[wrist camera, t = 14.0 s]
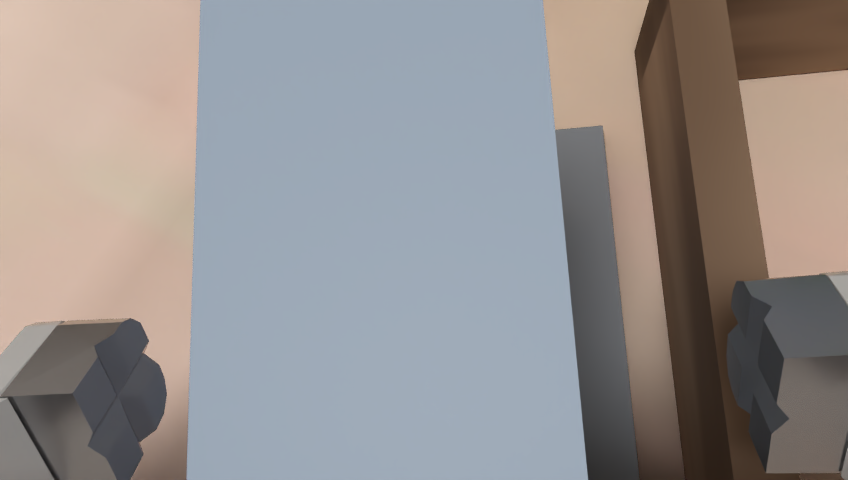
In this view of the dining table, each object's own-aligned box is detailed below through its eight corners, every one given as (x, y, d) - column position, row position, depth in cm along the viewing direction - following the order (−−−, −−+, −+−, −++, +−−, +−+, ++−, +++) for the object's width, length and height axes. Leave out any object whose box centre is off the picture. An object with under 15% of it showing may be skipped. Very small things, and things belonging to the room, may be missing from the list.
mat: (600, 131, 17) (602, 125, 17) (658, 690, 15) (662, 698, 14) (317, 157, 18) (313, 152, 18) (321, 687, 16) (315, 695, 15)
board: (534, 214, 17) (537, -49, 7) (562, 538, 15) (615, 762, 6) (385, 227, 17) (201, -5, 8) (396, 542, 16) (177, 755, 6)
